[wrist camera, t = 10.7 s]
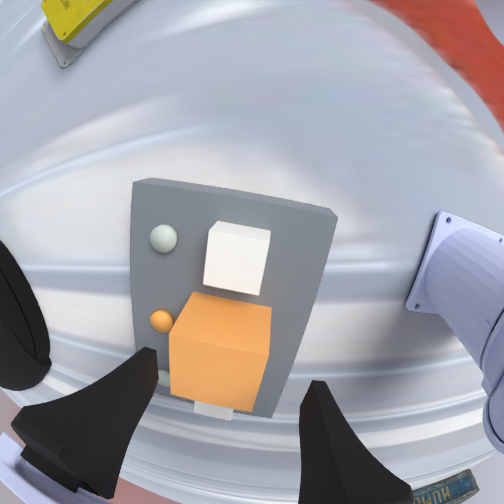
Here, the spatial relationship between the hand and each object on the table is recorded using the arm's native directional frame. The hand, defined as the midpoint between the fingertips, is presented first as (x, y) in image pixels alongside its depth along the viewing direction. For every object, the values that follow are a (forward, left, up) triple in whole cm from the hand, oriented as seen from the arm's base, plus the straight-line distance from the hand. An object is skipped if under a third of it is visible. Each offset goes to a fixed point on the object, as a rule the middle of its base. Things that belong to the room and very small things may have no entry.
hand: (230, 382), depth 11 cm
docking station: (+40, +18, -9) cm, 44 cm away
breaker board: (+2, +2, -9) cm, 9 cm away
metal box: (-55, +59, -9) cm, 81 cm away
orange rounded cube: (+1, +2, -6) cm, 6 cm away
